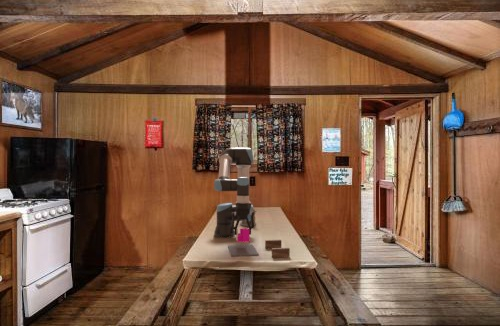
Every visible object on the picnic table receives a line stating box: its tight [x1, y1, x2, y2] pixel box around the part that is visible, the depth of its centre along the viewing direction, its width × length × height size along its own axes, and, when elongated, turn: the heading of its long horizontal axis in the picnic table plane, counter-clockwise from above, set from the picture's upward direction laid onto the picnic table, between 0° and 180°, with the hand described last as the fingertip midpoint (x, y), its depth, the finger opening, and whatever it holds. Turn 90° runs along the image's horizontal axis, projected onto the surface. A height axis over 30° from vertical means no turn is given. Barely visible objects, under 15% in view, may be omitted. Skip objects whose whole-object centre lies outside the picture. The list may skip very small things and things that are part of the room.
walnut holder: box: [264, 239, 291, 259], centre depth 197 cm, size 21×10×5 cm, turn 9°
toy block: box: [235, 227, 250, 243], centre depth 200 cm, size 15×6×8 cm, turn 9°
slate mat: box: [227, 244, 260, 258], centre depth 200 cm, size 22×16×1 cm
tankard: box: [239, 207, 257, 227], centre depth 276 cm, size 20×13×15 cm, turn 25°
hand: (242, 239), depth 200 cm, fingers closed on toy block, 6 cm apart
